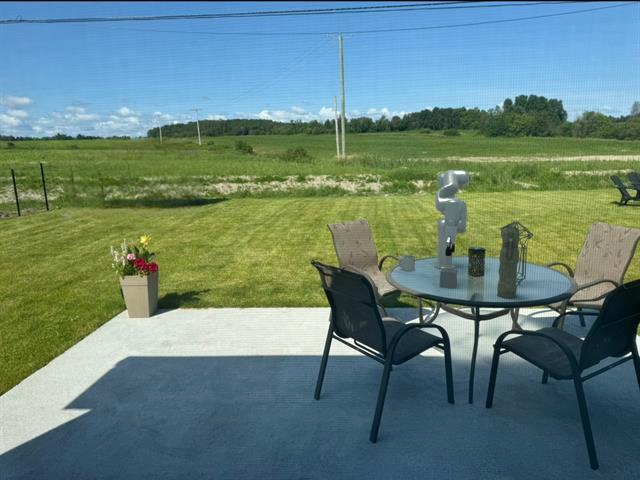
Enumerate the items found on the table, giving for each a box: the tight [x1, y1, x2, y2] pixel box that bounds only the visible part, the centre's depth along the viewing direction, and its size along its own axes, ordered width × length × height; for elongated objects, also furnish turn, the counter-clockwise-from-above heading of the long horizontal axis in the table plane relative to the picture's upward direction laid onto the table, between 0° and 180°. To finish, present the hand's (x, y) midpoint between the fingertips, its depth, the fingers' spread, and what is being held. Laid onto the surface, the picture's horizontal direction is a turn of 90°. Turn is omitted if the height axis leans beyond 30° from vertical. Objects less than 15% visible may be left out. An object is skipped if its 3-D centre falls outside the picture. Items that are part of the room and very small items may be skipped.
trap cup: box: [439, 268, 458, 290], centre depth 244 cm, size 8×8×9 cm
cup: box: [398, 254, 416, 272], centre depth 281 cm, size 7×10×9 cm
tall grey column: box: [496, 226, 520, 299], centre depth 224 cm, size 9×12×35 cm
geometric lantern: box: [498, 221, 534, 286], centre depth 247 cm, size 16×16×35 cm
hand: (450, 254), depth 244 cm, fingers open, 9 cm apart
